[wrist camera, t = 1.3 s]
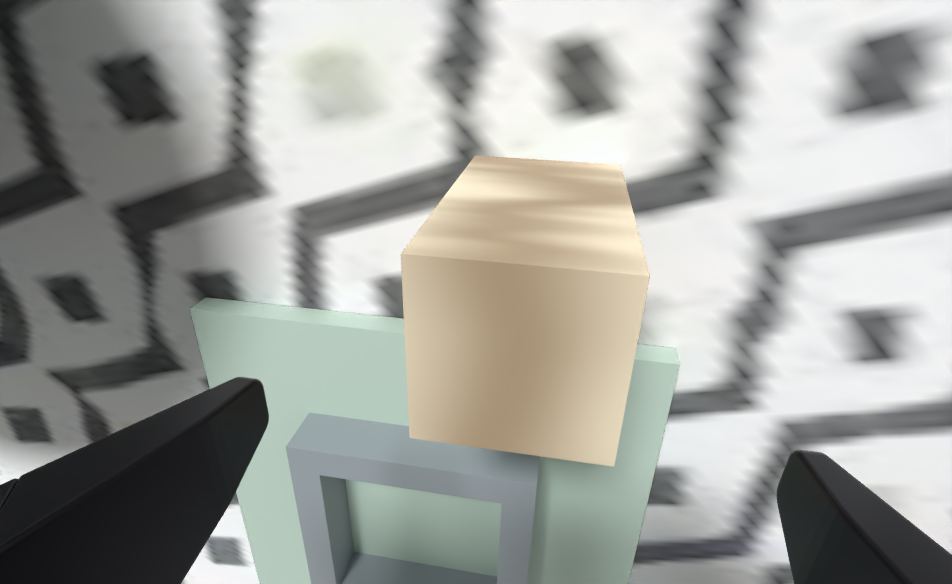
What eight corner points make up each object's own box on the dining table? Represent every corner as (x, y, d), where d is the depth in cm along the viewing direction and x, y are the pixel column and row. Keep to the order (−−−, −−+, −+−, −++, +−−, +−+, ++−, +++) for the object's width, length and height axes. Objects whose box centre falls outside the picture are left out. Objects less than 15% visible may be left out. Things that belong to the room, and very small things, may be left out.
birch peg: (620, 164, 16) (649, 275, 9) (601, 295, 18) (614, 466, 11) (475, 155, 17) (400, 253, 10) (472, 282, 19) (409, 438, 12)
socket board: (675, 348, 19) (690, 402, 16) (607, 648, 27) (609, 716, 24) (205, 297, 21) (152, 336, 19) (274, 585, 30) (244, 641, 27)
